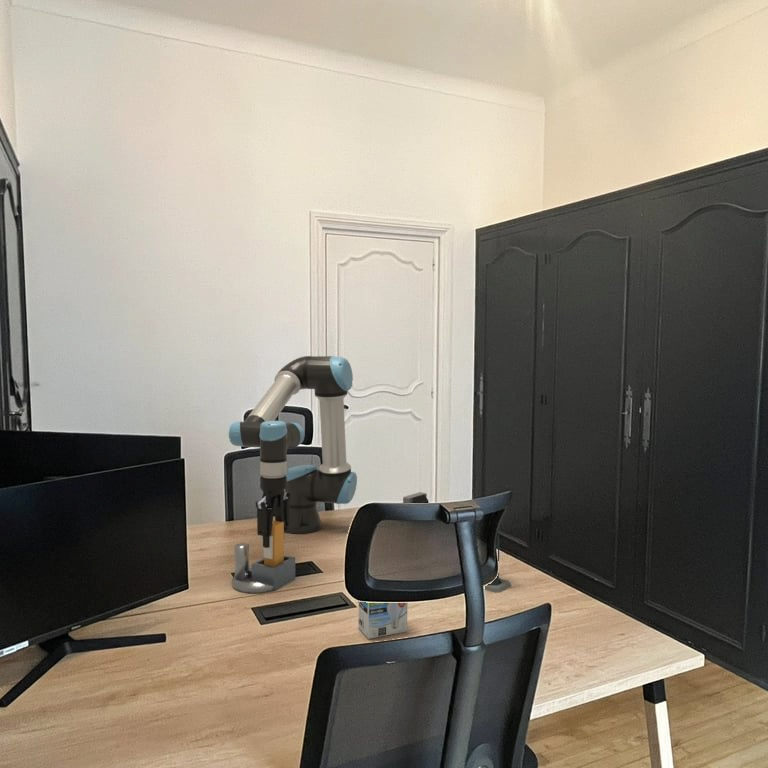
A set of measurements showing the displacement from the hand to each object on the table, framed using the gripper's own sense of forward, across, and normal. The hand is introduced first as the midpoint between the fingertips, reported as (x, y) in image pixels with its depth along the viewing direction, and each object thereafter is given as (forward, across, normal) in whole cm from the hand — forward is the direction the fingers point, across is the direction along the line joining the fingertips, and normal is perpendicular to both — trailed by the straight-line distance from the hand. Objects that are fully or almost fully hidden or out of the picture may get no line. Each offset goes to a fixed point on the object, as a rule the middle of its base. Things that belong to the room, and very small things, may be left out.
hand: (273, 554), depth 183 cm
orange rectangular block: (+7, 0, 0) cm, 7 cm away
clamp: (+8, -32, +44) cm, 55 cm away
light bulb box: (+8, +12, +42) cm, 44 cm away
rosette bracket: (+8, +2, -4) cm, 9 cm away
